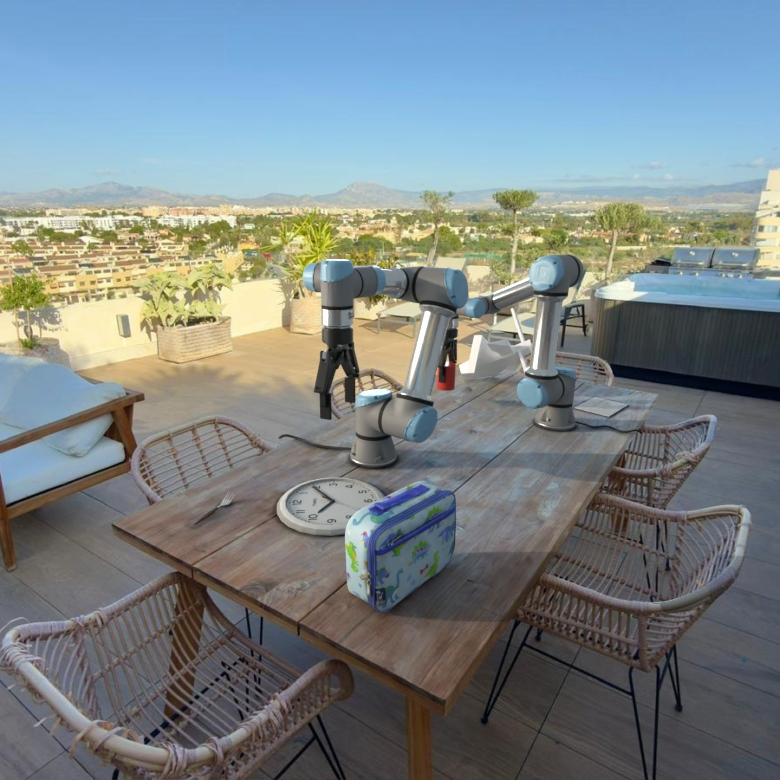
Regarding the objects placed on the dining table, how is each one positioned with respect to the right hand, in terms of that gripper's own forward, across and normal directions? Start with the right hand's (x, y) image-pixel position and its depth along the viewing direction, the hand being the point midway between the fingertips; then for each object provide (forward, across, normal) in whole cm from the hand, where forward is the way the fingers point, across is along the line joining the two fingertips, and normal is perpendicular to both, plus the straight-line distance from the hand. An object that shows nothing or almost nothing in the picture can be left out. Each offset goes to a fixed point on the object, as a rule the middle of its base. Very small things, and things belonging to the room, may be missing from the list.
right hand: (446, 380), depth 225 cm
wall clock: (+10, +97, +13) cm, 99 cm away
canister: (+4, 0, 0) cm, 4 cm away
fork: (+10, +117, -11) cm, 118 cm away
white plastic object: (+10, -37, +10) cm, 40 cm away
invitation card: (+10, -33, +59) cm, 68 cm away
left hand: (-19, +99, +17) cm, 102 cm away
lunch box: (+10, +115, +46) cm, 124 cm away
